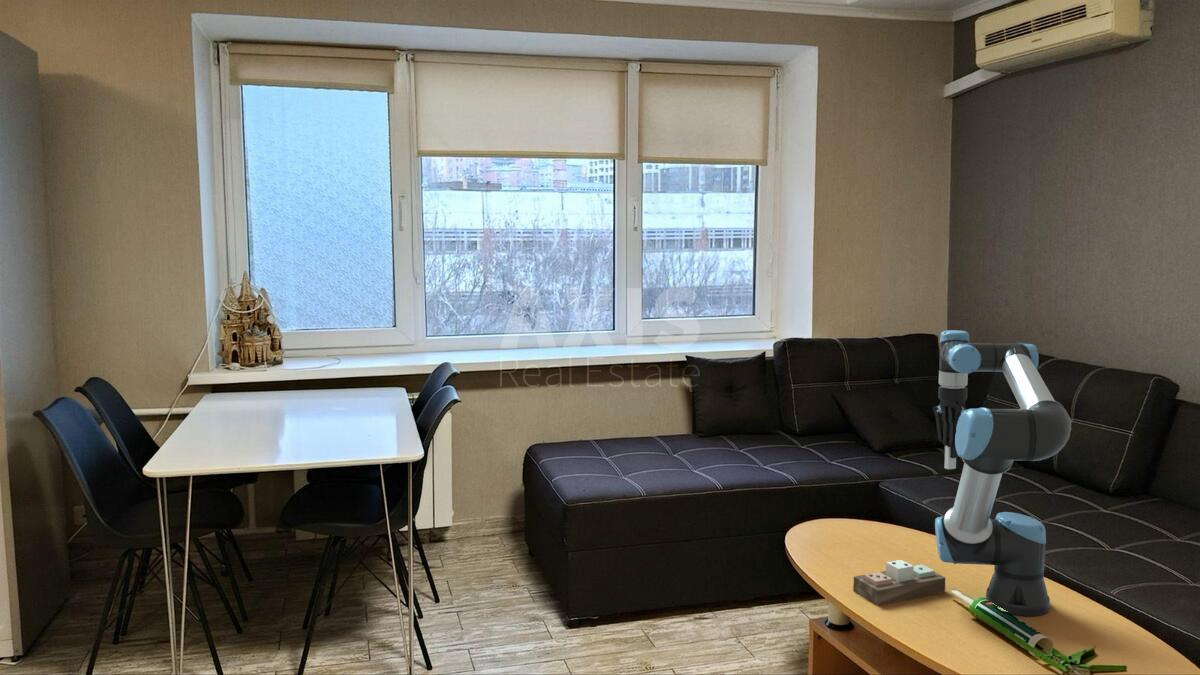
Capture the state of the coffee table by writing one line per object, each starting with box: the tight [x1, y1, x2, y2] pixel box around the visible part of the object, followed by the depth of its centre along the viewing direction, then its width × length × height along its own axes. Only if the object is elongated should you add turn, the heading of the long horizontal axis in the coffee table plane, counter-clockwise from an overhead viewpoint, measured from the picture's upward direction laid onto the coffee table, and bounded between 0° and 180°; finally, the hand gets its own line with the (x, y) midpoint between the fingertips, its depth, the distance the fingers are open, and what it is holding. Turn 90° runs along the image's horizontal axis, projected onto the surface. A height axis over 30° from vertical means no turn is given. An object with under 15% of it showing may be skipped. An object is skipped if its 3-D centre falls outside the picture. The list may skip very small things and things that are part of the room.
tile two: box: [885, 559, 915, 582], centre depth 244 cm, size 5×5×5 cm
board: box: [852, 570, 946, 606], centre depth 244 cm, size 10×22×4 cm, turn 111°
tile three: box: [863, 571, 892, 586], centre depth 242 cm, size 5×5×5 cm
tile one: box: [913, 564, 936, 578], centre depth 247 cm, size 5×5×5 cm
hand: (950, 468), depth 256 cm, fingers closed
